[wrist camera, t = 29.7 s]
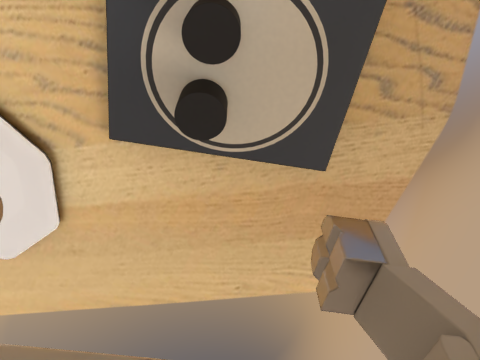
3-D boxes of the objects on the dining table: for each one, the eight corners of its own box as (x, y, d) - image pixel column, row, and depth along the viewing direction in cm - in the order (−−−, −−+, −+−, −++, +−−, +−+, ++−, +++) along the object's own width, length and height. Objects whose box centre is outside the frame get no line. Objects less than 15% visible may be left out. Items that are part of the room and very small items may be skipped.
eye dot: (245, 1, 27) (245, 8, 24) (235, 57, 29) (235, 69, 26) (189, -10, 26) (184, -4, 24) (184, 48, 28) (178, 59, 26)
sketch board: (388, -19, 27) (394, -17, 26) (323, 166, 36) (326, 173, 35) (108, -76, 25) (102, -76, 24) (112, 134, 34) (108, 140, 33)
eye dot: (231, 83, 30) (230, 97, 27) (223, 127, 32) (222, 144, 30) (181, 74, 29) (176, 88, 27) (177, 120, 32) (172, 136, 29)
